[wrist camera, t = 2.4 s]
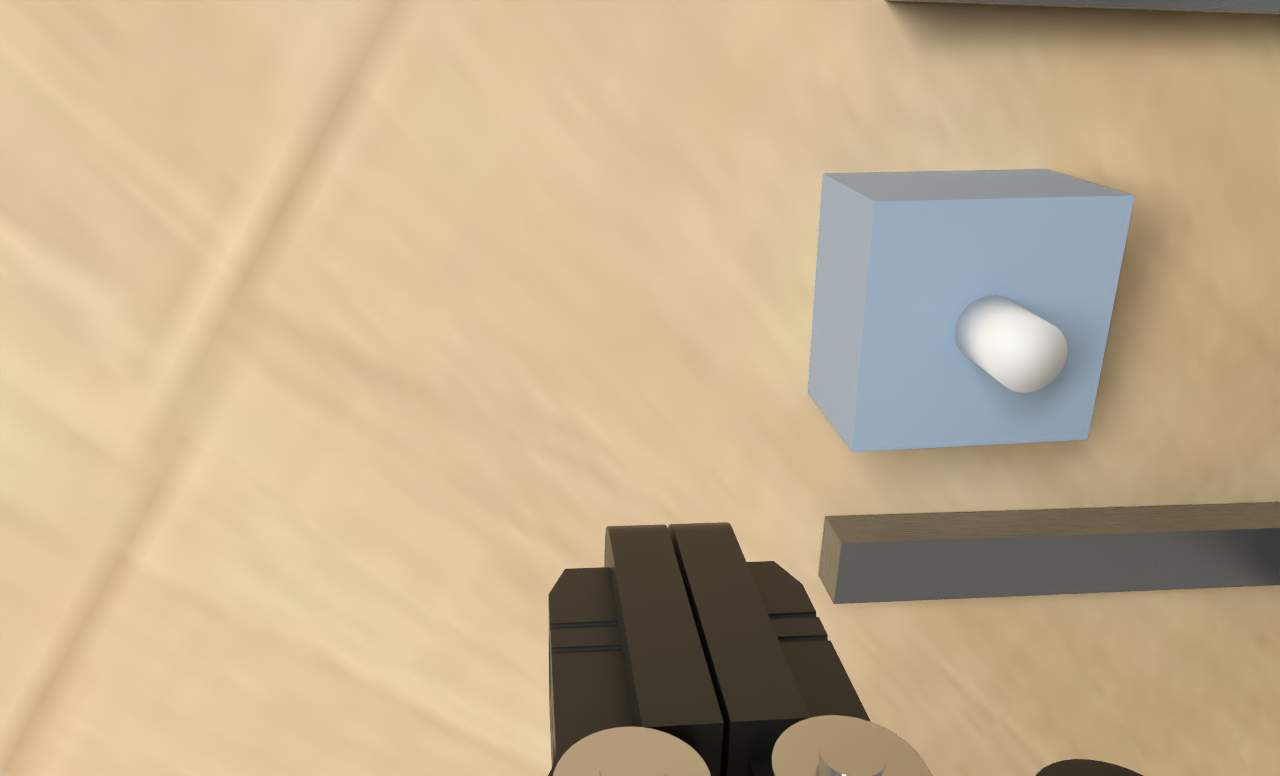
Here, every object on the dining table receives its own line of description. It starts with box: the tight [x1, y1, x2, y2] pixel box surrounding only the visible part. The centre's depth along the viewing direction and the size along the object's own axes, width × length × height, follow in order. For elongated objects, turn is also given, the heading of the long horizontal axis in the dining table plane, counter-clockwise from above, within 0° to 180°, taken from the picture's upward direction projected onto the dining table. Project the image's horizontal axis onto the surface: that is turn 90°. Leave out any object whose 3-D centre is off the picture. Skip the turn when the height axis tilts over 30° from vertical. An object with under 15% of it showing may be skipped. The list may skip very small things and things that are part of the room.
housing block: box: [808, 169, 1135, 452], centre depth 23 cm, size 6×6×6 cm
